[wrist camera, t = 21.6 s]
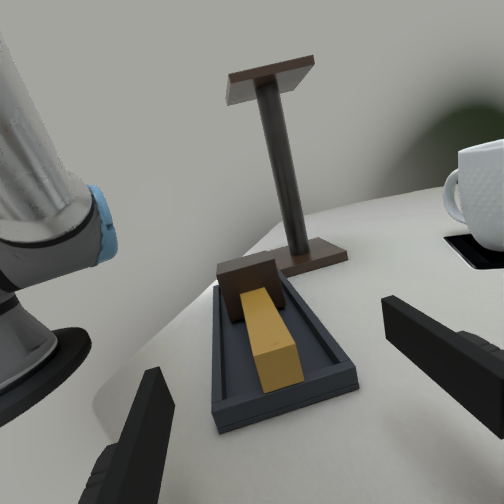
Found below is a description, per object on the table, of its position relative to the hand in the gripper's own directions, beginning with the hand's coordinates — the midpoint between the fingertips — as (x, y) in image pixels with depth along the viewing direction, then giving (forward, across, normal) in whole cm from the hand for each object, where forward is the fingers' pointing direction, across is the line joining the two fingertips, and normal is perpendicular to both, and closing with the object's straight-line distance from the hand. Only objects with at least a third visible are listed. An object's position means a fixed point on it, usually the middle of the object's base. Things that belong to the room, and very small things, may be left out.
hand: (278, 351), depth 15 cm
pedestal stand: (+32, +11, -7) cm, 34 cm away
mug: (+16, +34, -7) cm, 39 cm away
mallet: (+12, 0, -5) cm, 13 cm away
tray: (+14, 0, -7) cm, 15 cm away
